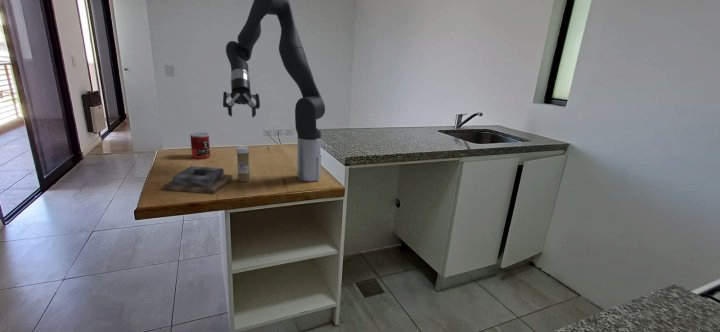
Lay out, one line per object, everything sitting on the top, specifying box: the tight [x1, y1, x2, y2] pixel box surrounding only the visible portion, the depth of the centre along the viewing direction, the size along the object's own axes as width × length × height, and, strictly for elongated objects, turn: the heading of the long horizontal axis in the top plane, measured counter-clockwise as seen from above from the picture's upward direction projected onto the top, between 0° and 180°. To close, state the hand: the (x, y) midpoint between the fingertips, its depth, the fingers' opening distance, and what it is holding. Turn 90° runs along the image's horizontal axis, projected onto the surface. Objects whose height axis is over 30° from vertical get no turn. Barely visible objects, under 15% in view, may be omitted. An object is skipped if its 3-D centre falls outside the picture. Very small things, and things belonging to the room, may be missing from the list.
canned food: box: [189, 131, 211, 160], centre depth 155 cm, size 8×8×11 cm
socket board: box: [162, 165, 234, 194], centre depth 124 cm, size 18×16×4 cm
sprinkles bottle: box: [236, 145, 251, 183], centre depth 129 cm, size 5×5×14 cm
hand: (242, 116), depth 135 cm, fingers open, 8 cm apart
